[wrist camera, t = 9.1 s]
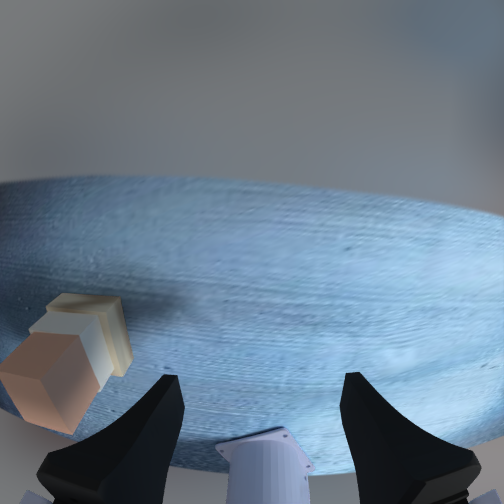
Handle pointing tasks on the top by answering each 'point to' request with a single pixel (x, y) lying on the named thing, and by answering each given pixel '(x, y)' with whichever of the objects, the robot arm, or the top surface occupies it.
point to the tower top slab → (89, 335)
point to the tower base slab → (102, 323)
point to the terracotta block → (50, 380)
